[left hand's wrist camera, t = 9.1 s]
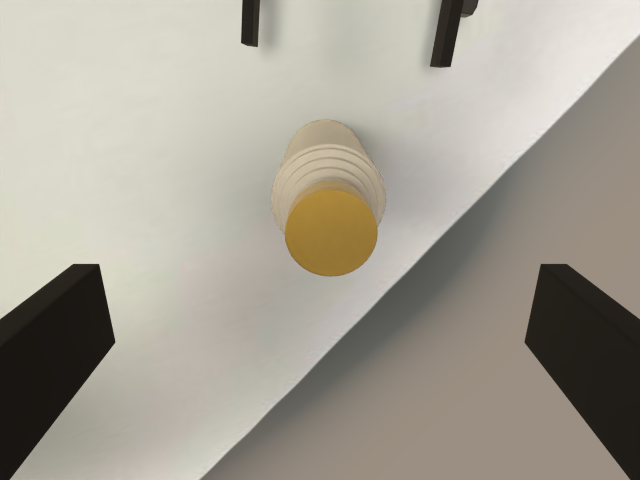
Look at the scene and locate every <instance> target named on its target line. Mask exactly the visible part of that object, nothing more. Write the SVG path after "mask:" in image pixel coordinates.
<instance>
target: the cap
mask: <svg viewBox="0 0 640 480" xmlns="http://www.w3.org/2000/svg"><path fill="white" fill-rule="evenodd" d="M285 240H286V244H287V248H288V250H289V252H290V254H291V256H292V257H293V258H294V260H295V261H296V262H297V263H298V264H299V265H300V266H302V267H303V268H304V269H306V270H308V271H310V272H312V273H314V274H318V275H322V276H339V275H344V274H347V273H349V272H352V271H354V270H355V269H357V268H359V267H360V266H361V265H362V264H363V263H364V262H365V261H366V260H367V259H368V258H369V257H370V255H371V253H372V252H373V250H374V247H375V244H376V241H377V225H376V221H375V218H374V215H373V213H372V210H371V208H370V205H369V203H368V201H367V200H366V198H365V197H364V196H363V195H362V194H361V193H360V192H359V191H358V190H357V189H355V188H354V187H352V186H350V185H348V184H346V183H343V182H338V181H323V182H318V183H315V184H313V185H311V186H309V187H307V188H305V189H304V190H303V191H302V192H300V193H299V194H298V196H297V197H296V198H295V199H294V201H293V202H292V205H291V207H290V209H289V213H288V217H287V222H286V227H285Z"/></svg>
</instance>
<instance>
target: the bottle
mask: <svg viewBox="0 0 640 480" xmlns="http://www.w3.org/2000/svg"><path fill="white" fill-rule="evenodd" d="M323 181H338V182H343V183H346V184H348V185H350V186H352V187H354V188H355V189H357V190H358V191H359V192H360V193H361V194H362V195H363V196H364V197H365V198H366V200H367V201H368V203H369V205H370V208H371V210H372V213H373V215H374V218H375V221H376V225H377V227H378V225H379V223H380V222H381V219H382V217H383V213H384V210H385V203H386V194H385V187H384V183H383V180H382V178H381V176H380V173H379V172H378V170H377V168H376V167H375V165H374V164H373V162H372V161H371V159H370V158H369V156H368V154H367V153H366V151H365V150H364V148H363V147H362V145H361V144H360V142H359V140H358V139H357V137H356V136H355V134H354V133H353V132H352V131H351V130H350V129H349V128H348V127H346V126H345V125H343V124H341V123H339V122H336V121H332V120H318V121H314V122H311V123H309V124H307V125H305V126H304V127H302V128H301V129H300V130H299V131H298V132H297V133H296V134H295V135H294V137H293V138H292V140H291V142H290V145H289V147H288V149H287V152H286V154H285V156H284V159H283V161H282V164H281V166H280V168H279V171H278V173H277V175H276V178H275V180H274V183H273V187H272V192H271V206H272V212H273V216H274V218H275V221H276V223H277V225H278V227H279V228H280V230H281V231H282V233H283V234H284V235H285V227H286V222H287V217H288V213H289V209H290V207H291V205H292V202H293V201H294V199H295V198H296V197H297V196H298V194H299V193H300V192H302V191H303V190H304V189H305V188H307V187H309V186H311V185H313V184H315V183H318V182H323Z"/></svg>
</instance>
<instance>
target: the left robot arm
mask: <svg viewBox="0 0 640 480" xmlns="http://www.w3.org/2000/svg"><path fill="white" fill-rule="evenodd" d="M114 344H115V338H114V333H113V328H112V323H111V319H110V314H109V309H108V304H107V299H106V295H105V290H104V285H103V280H102V276H101V271H100V266H99V264H73V265H71V266H70V267H69V268H67V269H66V270H65V271H63V272H62V273H61V274H59V275H58V276H57V277H56V278H54V279H53V280H52V281H50V282H49V283H48V284H46V285H45V286H44V287H42V288H41V289H40V290H38V291H37V292H36V293H34V294H33V295H32V296H30V297H29V298H28V299H27V300H25V301H24V302H23V303H21V304H20V305H19V306H17V307H16V308H15V309H13V310H12V311H11V312H9V313H8V314H7V315H5V316H4V317H3V318H1V319H0V480H10V479H11V477H12V476H13V475H14V473H15V472H16V471H17V469H18V468H19V467H20V466H21V464H22V463H23V462H24V460H25V459H26V458H27V456H28V455H29V454H30V453H31V451H32V450H33V449H34V447H35V446H36V445H37V443H38V442H39V441H40V440H41V438H42V437H43V436H44V434H45V433H46V432H47V431H48V429H49V428H50V427H51V425H52V424H53V423H54V421H55V420H56V419H57V418H58V416H59V415H60V414H61V412H62V411H63V410H64V408H65V407H66V406H67V405H68V403H69V402H70V401H71V399H72V398H73V397H74V395H75V394H76V393H77V392H78V390H79V389H80V388H81V386H82V385H83V384H84V383H85V381H86V380H87V379H88V377H89V376H90V375H91V373H92V372H93V371H94V370H95V368H96V367H97V366H98V364H99V363H100V362H101V360H102V359H103V358H104V357H105V355H106V354H107V353H108V351H109V350H110V349H111V347H112V346H113V345H114ZM525 344H526V345H527V346H528V347H529V349H530V350H531V351H532V353H533V354H534V355H535V357H536V358H537V359H538V360H539V362H540V363H541V364H542V366H543V367H544V368H545V370H546V371H547V372H548V373H549V375H550V376H551V377H552V379H553V380H554V381H555V383H556V384H557V385H558V386H559V388H560V389H561V390H562V392H563V393H564V394H565V395H566V397H567V398H568V399H569V401H570V402H571V403H572V405H573V406H574V407H575V408H576V410H577V411H578V412H579V414H580V415H581V416H582V417H583V419H584V420H585V421H586V423H587V424H588V425H589V427H590V428H591V429H592V431H593V432H594V433H595V434H596V436H597V437H598V438H599V439H600V441H601V442H602V443H603V445H604V446H605V447H606V449H607V450H608V451H609V453H610V454H611V455H612V456H613V458H614V459H615V460H616V462H617V463H618V464H619V465H620V467H621V468H622V469H623V471H624V472H625V473H626V475H627V476H628V477H629V479H630V480H640V319H639V318H637V317H636V316H635V315H633V314H632V313H631V312H629V311H628V310H627V309H625V308H624V307H623V306H621V305H620V304H619V303H617V302H616V301H615V300H613V299H612V298H611V297H609V296H608V295H607V294H606V293H604V292H603V291H602V290H600V289H599V288H598V287H596V286H595V285H594V284H592V283H591V282H590V281H588V280H587V279H586V278H584V277H583V276H582V275H581V274H579V273H578V272H577V271H575V270H574V269H573V268H571V267H570V266H569V265H567V264H541V266H540V271H539V276H538V280H537V285H536V290H535V295H534V300H533V304H532V309H531V314H530V319H529V323H528V328H527V333H526V338H525Z"/></svg>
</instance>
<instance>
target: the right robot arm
mask: <svg viewBox="0 0 640 480" xmlns="http://www.w3.org/2000/svg"><path fill="white" fill-rule="evenodd" d="M477 4H478V0H442V4H441V9H440V15H439V20H438V26H437V31H436V37H435V42H434V48H433V53H432V58H431V64H430V67H439V68H442V67H451V62H452V57H453V52H454V47H455V42H456V37H457V32H458V27H459V22H460V17H465V18H466V17H468V16H471V15H472V14H473V13H474V11H475V9H476V8H477ZM259 8H260V0H243V3H242V33H241V43H242V44H245V45H247V46H254V47H258V30H259Z"/></svg>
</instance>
